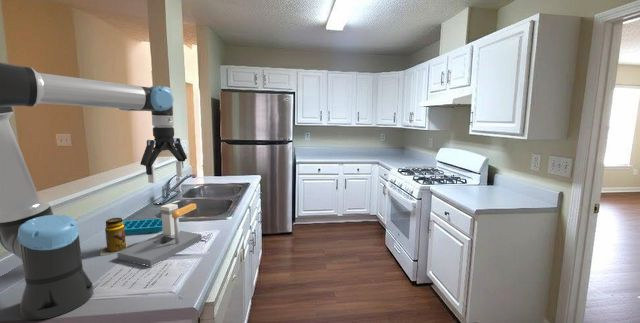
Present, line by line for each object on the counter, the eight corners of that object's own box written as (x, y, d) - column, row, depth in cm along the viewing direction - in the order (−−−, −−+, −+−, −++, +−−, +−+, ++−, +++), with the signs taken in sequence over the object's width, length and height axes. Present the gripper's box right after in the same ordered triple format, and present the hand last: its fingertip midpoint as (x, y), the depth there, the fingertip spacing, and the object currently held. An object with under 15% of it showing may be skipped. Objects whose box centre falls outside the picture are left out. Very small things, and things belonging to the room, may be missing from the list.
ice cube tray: (123, 227, 138) (122, 221, 137) (170, 223, 142) (170, 217, 142) (112, 237, 126) (112, 230, 126) (164, 232, 131) (164, 226, 131)
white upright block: (171, 236, 121) (168, 207, 119) (162, 234, 122) (160, 206, 120) (180, 231, 125) (178, 204, 123) (171, 230, 127) (169, 203, 125)
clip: (172, 243, 113) (170, 212, 112) (193, 231, 125) (191, 203, 123) (177, 243, 113) (175, 213, 111) (198, 231, 125) (196, 203, 123)
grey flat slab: (151, 267, 101) (150, 260, 100) (118, 259, 106) (117, 252, 106) (201, 240, 123) (201, 234, 123) (172, 234, 129) (171, 229, 128)
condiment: (127, 250, 113) (124, 220, 112) (100, 256, 109) (96, 225, 107) (127, 243, 119) (124, 215, 118) (101, 248, 115) (97, 219, 113)
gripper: (141, 127, 104) (145, 186, 107) (194, 126, 127) (196, 174, 130) (126, 127, 107) (131, 184, 110) (180, 126, 130) (183, 173, 133)
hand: (166, 179), depth 120 cm, fingers open, 13 cm apart
